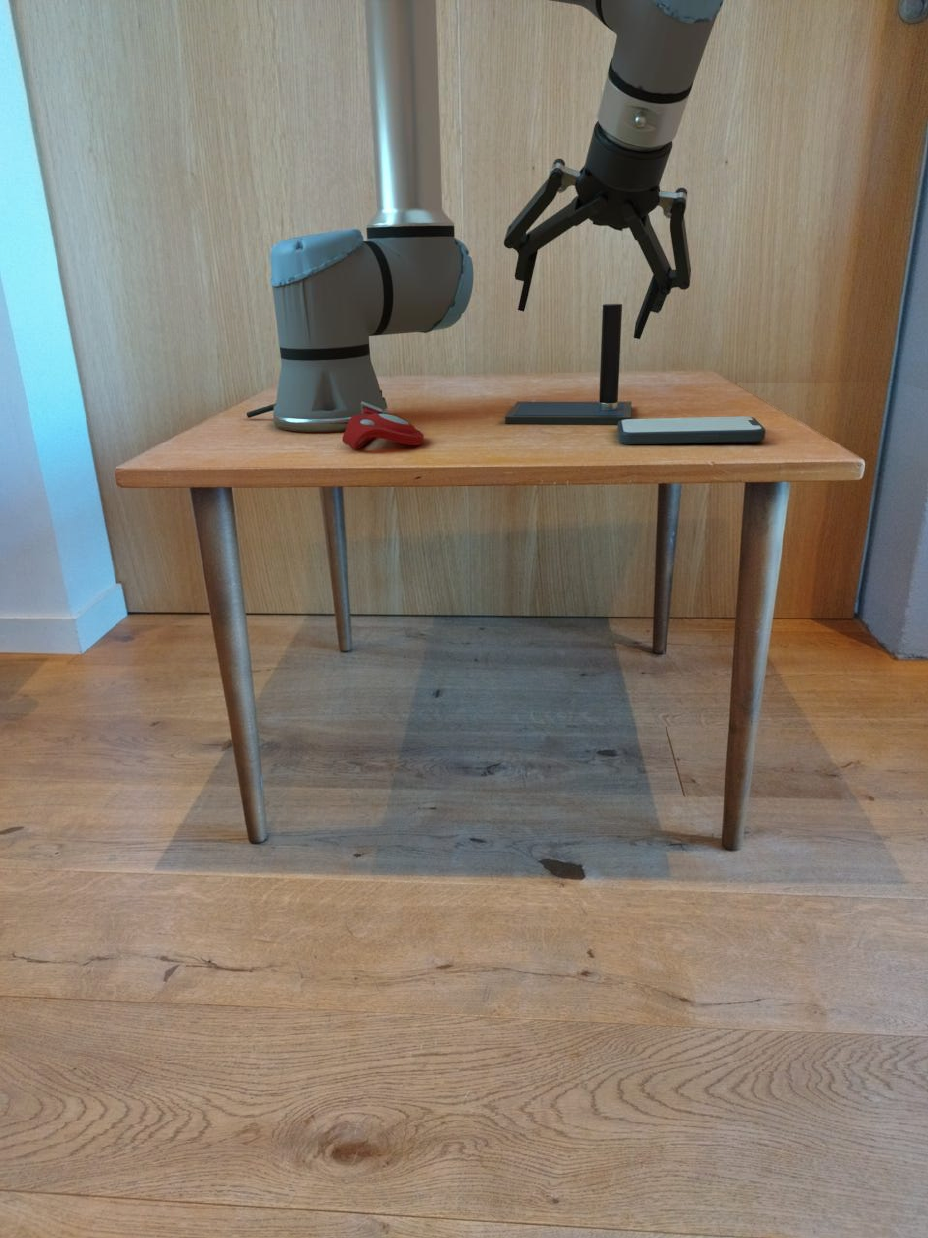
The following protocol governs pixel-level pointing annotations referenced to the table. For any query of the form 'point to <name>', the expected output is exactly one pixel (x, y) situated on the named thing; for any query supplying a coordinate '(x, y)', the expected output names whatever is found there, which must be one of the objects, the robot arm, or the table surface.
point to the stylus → (610, 356)
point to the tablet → (565, 413)
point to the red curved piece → (379, 428)
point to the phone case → (690, 430)
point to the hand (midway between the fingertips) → (580, 317)
